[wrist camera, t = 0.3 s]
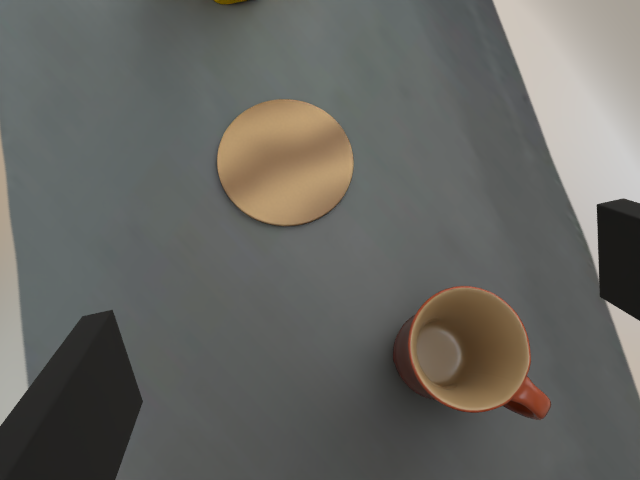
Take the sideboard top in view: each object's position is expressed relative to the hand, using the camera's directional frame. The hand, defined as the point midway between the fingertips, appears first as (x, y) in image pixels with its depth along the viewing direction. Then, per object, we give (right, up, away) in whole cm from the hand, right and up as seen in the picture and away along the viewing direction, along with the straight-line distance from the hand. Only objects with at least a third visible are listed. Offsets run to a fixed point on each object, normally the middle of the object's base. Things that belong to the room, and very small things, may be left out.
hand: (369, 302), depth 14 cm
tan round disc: (-5, +9, +37) cm, 39 cm away
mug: (+10, -10, +33) cm, 36 cm away
